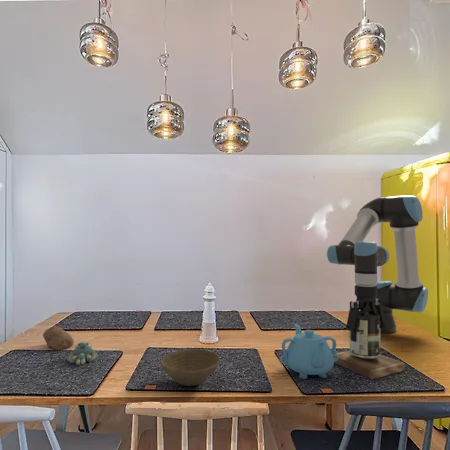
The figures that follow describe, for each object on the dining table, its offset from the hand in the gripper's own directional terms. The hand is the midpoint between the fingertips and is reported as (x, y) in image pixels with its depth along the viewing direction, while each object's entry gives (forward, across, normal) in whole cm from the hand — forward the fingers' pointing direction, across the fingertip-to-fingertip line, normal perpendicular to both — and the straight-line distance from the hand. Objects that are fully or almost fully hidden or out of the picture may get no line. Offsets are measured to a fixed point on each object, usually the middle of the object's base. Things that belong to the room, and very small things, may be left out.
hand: (366, 348), depth 128 cm
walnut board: (+6, 0, 0) cm, 6 cm away
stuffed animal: (+6, +88, -52) cm, 102 cm away
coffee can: (+2, 0, -1) cm, 3 cm away
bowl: (+6, +61, -15) cm, 63 cm away
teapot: (+6, +22, -5) cm, 24 cm away
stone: (+6, +94, -74) cm, 120 cm away
